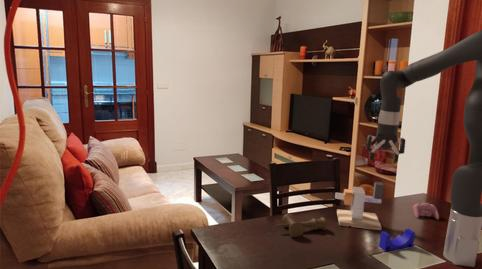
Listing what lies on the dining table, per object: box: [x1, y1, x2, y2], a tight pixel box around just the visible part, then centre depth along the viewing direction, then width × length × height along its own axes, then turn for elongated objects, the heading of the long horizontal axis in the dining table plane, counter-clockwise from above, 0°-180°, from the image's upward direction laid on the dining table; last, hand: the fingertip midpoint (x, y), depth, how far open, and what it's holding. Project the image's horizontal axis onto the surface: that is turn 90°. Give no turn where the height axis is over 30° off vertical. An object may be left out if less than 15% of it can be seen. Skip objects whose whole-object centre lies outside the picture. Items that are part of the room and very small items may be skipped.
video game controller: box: [412, 202, 440, 220], centre depth 152 cm, size 10×5×7 cm, turn 84°
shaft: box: [334, 181, 385, 204], centre depth 143 cm, size 3×18×8 cm, turn 80°
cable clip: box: [378, 228, 416, 252], centre depth 125 cm, size 12×4×6 cm, turn 106°
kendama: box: [276, 213, 328, 238], centre depth 134 cm, size 6×10×20 cm
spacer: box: [342, 188, 353, 206], centre depth 144 cm, size 5×3×5 cm, turn 170°
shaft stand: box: [336, 186, 383, 231], centre depth 144 cm, size 13×16×14 cm
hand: (382, 162), depth 140 cm, fingers open, 8 cm apart
